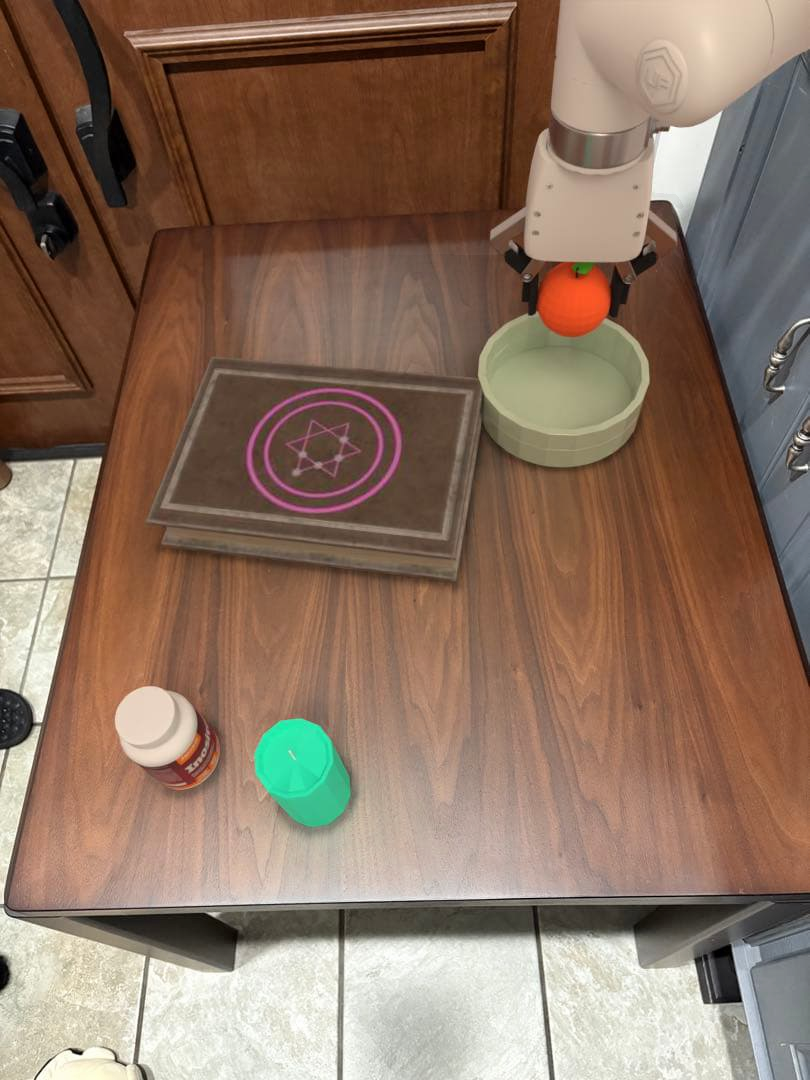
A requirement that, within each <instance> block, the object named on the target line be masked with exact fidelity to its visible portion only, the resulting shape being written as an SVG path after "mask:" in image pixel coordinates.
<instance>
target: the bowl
mask: <svg viewBox="0 0 810 1080" xmlns="http://www.w3.org/2000/svg"><path fill="white" fill-rule="evenodd" d="M649 367H650V365H649V360H648V358H647V356H646V354H645V352H644V350H643V349H642V346H641V344H640V342H639V341H638V340H637V339H636V338H635V337H634V336H633V335H632V334H631V333H629V332H628V331H627V330H626V329H625V328H624V327H623V326H621V325H619V324H618V323H616V322H614V321H612V320H610V319H608V318H605V319H604V320H603V322H602V323H601V324H600V325H599V326H598V327H597V328H596V329H595V330H593V331H591V332H589V333H587V334H585V335H583V336H579V337H564V336H561V335H558V334H556V333H554V332H553V331H551V330H550V329H549V328H547V327H546V326H545V324H544V323H543V322H542V320H541V318H540V316H539V313H538V311H537V310H536V314H534V315H533V316H528V312H526V313H524V314H523V315H521V316H518V317H516V318H514V319H512V320H509V321H508V322H506V323H505V324H503V325H502V326H501V327H500V328H499V329H497V331H495V333H493V334H492V335H491V336H490V337H489V338H487V341H486V342H485V345H484V347H483V349H482V351H481V353H480V354H479V357H478V370H477V378H478V379H479V382H480V385H481V388H482V391H483V397H482V403H481V409H480V413H481V416H482V426H483V427H484V430H485V431H486V432H487V434H488V435H489V437H490V438H491V439H492V440H493V441H494V442H495V444H497V445H498V446H499V447H500V448H502V449H503V450H504V451H506V452H507V453H509V454H510V455H513V456H514V457H516V458H518V459H520V460H523V461H525V462H528V463H530V464H533V465H537V466H542V467H549V468H572V467H573V468H574V467H581V466H585V465H589V464H593V463H596V462H599V461H601V460H603V459H605V458H608V457H609V456H610V455H612V454H613V453H615V452H617V451H618V450H619V449H620V448H621V447H623V446H624V445H625V444H626V442H627V441H628V440H629V439H630V438H631V436H632V435H633V433H634V432H635V429H636V427H637V425H638V421H639V420H640V419H639V418H640V416H641V413H642V410H643V406H644V403H645V400H646V396H647V392H648V388H649V386H650V382H651V381H650V380H651V379H650V368H649Z"/></svg>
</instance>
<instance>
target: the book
mask: <svg viewBox="0 0 810 1080" xmlns="http://www.w3.org/2000/svg"><path fill="white" fill-rule="evenodd" d="M482 397H483V391H482V388H481V385H480V382H479V379H478V377H469V376H457V375H446V374H445V375H443V374H432V373H420V372H419V373H418V372H406V371H397V370H396V371H394V370H385V369H383V370H382V369H368V368H360V367H359V368H357V367H347V366H346V367H345V366H333V365H321V364H310V363H309V364H308V363H296V362H286V361H284V362H283V361H273V360H272V361H271V360H260V359H246V358H234V357H223V356H211V357H210V359H209V362H208V364H207V367H206V369H205V372H204V375H203V378H202V379H201V382H200V385H199V387H198V390H197V392H196V394H195V397H194V400H193V402H192V404H191V407H190V410H189V412H188V415H187V417H186V420H185V422H184V425H183V427H182V430H181V432H180V435H179V437H178V440H177V442H176V444H175V447H174V450H173V452H172V454H171V458H170V460H169V462H168V464H167V468H166V469H165V473H164V475H163V478H162V479H161V482H160V484H159V487H158V490H157V492H156V495H155V497H154V500H153V502H152V505H151V507H150V510H149V512H148V515H147V516H146V520H145V523H146V524H147V525H148V526H149V525H150V526H156V527H157V526H159V527H165V531H164V534H163V537H162V539H161V542H160V545H161V547H163V548H172V549H179V550H189V551H198V552H207V553H213V554H222V555H231V556H236V557H237V556H238V557H247V558H254V559H263V560H271V561H279V562H288V563H295V564H296V563H297V564H304V565H313V566H321V567H328V568H329V567H330V568H336V569H337V568H338V569H346V570H353V571H354V570H355V571H362V572H369V573H370V572H371V573H378V574H387V575H395V576H402V577H403V576H404V577H411V578H418V579H419V578H420V579H427V580H436V581H444V582H452V583H457V581H458V575H459V569H460V563H461V557H462V551H463V544H464V539H465V532H466V525H467V519H468V513H469V508H470V501H471V494H472V488H473V481H474V476H475V470H476V464H477V458H478V453H479V452H478V451H479V445H480V440H481V434H482V433H481V432H482V426H483V424H482V416H481V413H480V409H481V403H482Z"/></svg>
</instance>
